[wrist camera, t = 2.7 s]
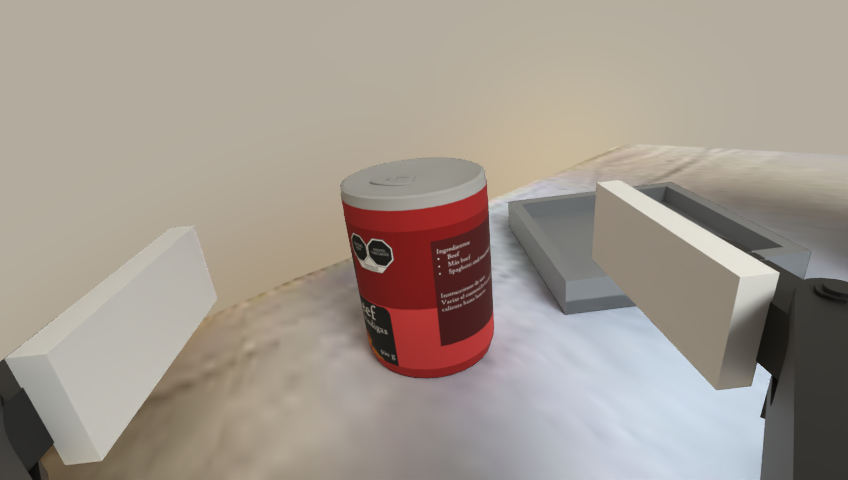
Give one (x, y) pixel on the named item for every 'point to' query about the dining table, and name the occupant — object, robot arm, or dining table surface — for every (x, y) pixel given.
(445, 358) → the canned food
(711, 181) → the dining table surface
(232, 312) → the dining table surface
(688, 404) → the dining table surface
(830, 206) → the dining table surface
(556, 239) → the tray
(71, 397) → the robot arm
